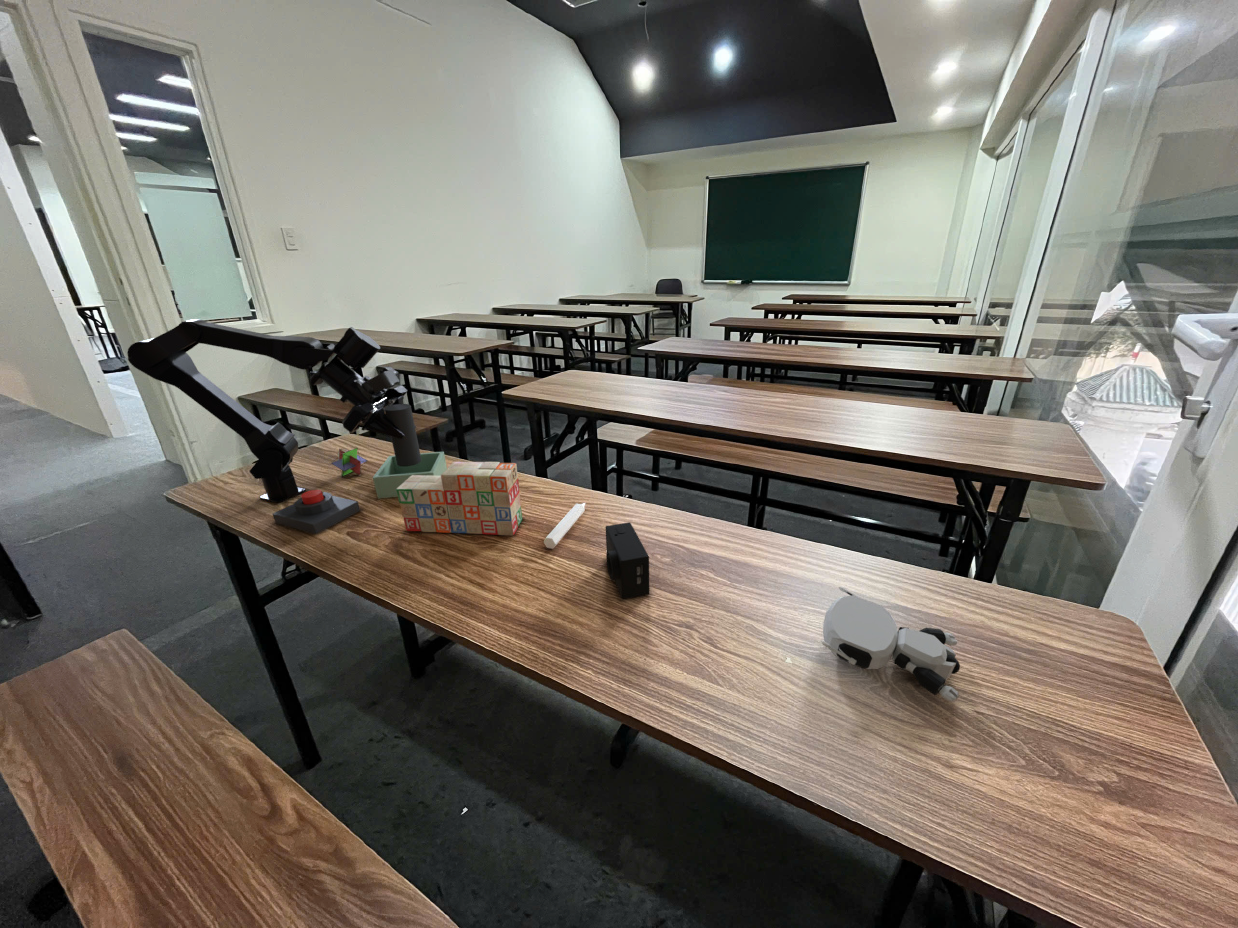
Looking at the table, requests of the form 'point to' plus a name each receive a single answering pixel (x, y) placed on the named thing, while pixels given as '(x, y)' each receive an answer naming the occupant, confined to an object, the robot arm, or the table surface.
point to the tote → (406, 472)
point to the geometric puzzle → (349, 461)
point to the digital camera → (627, 560)
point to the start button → (312, 497)
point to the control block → (316, 513)
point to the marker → (564, 526)
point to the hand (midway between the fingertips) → (409, 432)
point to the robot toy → (889, 643)
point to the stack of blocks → (463, 499)
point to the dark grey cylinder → (408, 445)
